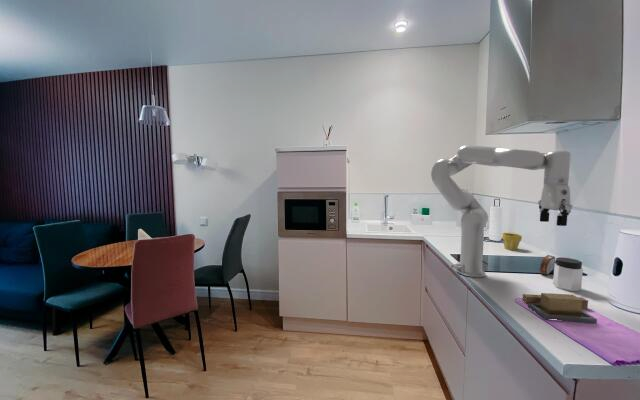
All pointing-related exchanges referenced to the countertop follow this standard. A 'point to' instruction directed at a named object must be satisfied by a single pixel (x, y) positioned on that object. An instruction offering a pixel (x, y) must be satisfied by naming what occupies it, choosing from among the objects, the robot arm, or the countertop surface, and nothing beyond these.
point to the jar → (568, 274)
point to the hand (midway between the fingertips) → (552, 223)
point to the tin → (547, 264)
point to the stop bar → (561, 304)
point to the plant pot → (511, 240)
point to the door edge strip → (537, 299)
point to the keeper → (583, 319)
